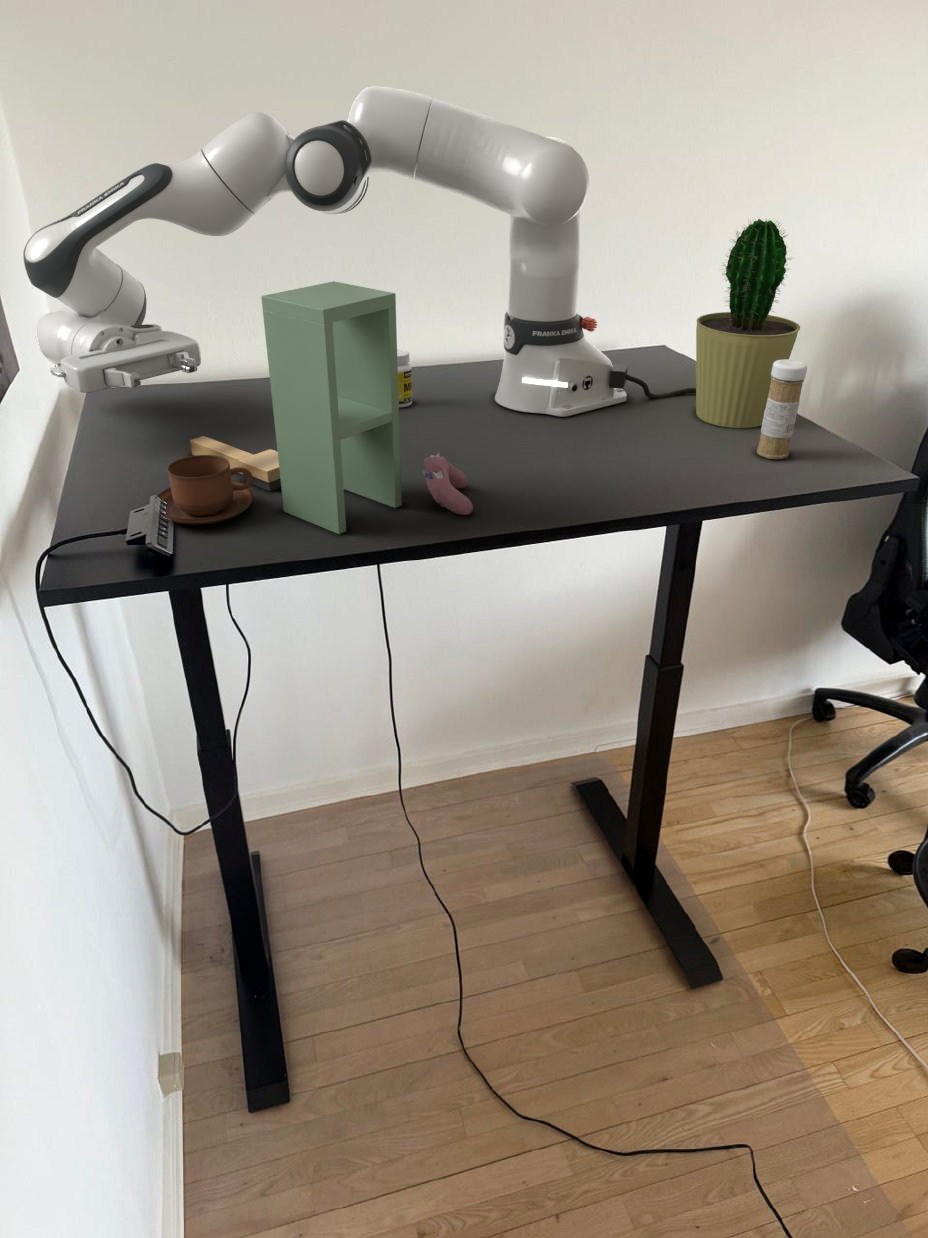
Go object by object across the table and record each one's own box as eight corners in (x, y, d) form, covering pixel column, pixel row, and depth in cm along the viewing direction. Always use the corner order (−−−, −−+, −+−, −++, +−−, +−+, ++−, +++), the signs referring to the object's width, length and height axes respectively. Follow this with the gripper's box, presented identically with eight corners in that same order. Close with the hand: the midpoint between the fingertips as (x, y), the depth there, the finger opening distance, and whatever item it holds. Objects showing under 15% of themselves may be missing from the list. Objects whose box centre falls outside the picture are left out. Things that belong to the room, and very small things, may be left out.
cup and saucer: (225, 485, 118) (219, 441, 115) (272, 514, 111) (267, 468, 108) (139, 509, 112) (130, 463, 108) (183, 542, 104) (174, 493, 101)
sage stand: (283, 511, 112) (260, 295, 98) (347, 485, 119) (333, 280, 105) (339, 534, 106) (323, 309, 93) (402, 505, 114) (395, 292, 100)
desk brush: (183, 457, 127) (179, 437, 125) (214, 447, 130) (211, 427, 129) (269, 492, 117) (267, 471, 115) (301, 480, 120) (299, 459, 119)
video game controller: (438, 497, 120) (414, 453, 116) (469, 482, 119) (445, 437, 115) (443, 529, 111) (417, 483, 108) (476, 513, 110) (451, 466, 107)
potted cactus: (801, 426, 140) (846, 220, 125) (718, 437, 136) (753, 224, 120) (743, 397, 153) (777, 206, 137) (665, 406, 148) (691, 210, 133)
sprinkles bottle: (773, 447, 132) (791, 356, 125) (795, 457, 129) (815, 365, 122) (749, 452, 131) (766, 360, 124) (770, 462, 127) (789, 368, 120)
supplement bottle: (408, 409, 146) (407, 357, 142) (380, 407, 147) (378, 355, 142) (415, 400, 150) (414, 349, 146) (388, 398, 151) (386, 348, 146)
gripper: (39, 347, 125) (93, 366, 117) (164, 321, 138) (220, 337, 131) (49, 391, 128) (102, 413, 121) (170, 362, 141) (225, 380, 134)
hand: (165, 373), depth 126 cm, fingers open, 8 cm apart
